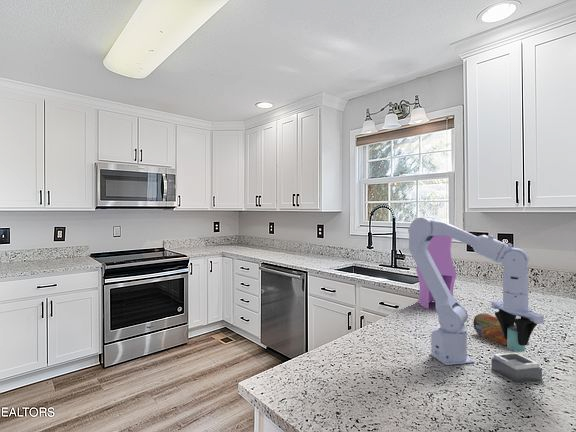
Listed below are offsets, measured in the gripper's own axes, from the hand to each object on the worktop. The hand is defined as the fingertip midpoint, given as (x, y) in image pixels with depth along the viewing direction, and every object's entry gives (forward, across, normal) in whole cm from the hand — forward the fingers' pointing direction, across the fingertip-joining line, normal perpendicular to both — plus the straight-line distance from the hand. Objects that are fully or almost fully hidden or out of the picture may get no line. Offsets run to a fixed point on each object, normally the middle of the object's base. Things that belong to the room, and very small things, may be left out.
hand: (515, 341), depth 89 cm
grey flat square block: (+9, 0, 0) cm, 9 cm away
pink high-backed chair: (+9, +66, -21) cm, 69 cm away
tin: (+9, +22, -14) cm, 28 cm away
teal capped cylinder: (+2, 0, 0) cm, 2 cm away
